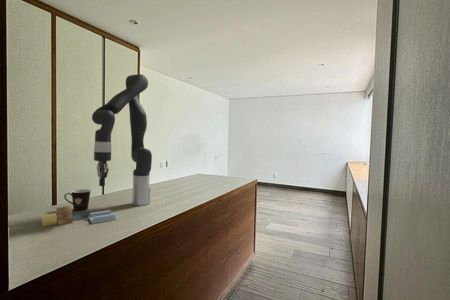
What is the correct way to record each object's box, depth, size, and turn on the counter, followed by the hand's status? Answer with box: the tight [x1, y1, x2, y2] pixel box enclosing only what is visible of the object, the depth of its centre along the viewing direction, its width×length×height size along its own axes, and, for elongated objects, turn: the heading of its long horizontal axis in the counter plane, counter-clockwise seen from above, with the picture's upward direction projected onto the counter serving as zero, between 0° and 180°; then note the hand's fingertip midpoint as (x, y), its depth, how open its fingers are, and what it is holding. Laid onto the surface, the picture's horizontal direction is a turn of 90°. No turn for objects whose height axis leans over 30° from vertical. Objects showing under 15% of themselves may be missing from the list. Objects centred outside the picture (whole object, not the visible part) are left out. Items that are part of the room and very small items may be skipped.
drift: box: [72, 210, 89, 222], centre depth 112 cm, size 9×3×3 cm, turn 137°
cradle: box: [87, 209, 117, 225], centre depth 114 cm, size 10×8×3 cm
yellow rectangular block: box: [41, 212, 58, 227], centre depth 107 cm, size 8×4×4 cm, turn 133°
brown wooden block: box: [55, 205, 73, 226], centre depth 109 cm, size 5×8×6 cm, turn 41°
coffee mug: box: [63, 188, 91, 212], centre depth 127 cm, size 12×9×10 cm
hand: (101, 185), depth 119 cm, fingers closed
